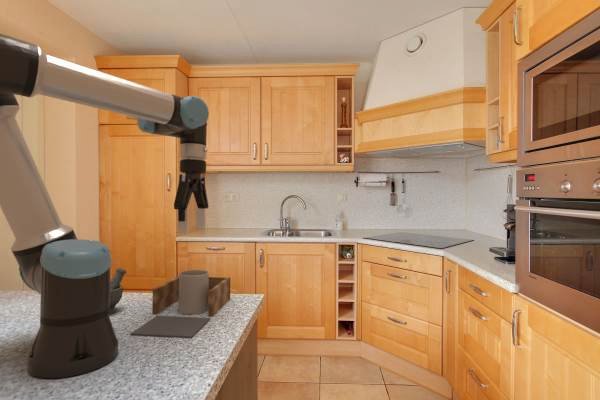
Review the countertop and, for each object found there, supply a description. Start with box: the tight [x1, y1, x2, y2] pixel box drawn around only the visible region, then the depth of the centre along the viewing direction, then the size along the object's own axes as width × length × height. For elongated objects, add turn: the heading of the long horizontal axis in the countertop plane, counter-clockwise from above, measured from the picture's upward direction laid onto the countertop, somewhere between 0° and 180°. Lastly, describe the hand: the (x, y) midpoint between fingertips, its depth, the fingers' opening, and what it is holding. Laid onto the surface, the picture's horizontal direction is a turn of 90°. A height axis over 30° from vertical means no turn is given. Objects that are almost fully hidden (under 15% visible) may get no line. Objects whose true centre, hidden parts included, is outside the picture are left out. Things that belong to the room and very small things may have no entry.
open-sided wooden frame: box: [151, 275, 231, 317], centre depth 107 cm, size 18×17×7 cm
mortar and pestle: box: [109, 267, 127, 315], centre depth 100 cm, size 11×9×12 cm
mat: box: [129, 315, 211, 339], centre depth 89 cm, size 13×15×1 cm
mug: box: [177, 269, 210, 316], centre depth 104 cm, size 12×8×11 cm
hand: (192, 231), depth 104 cm, fingers open, 13 cm apart
